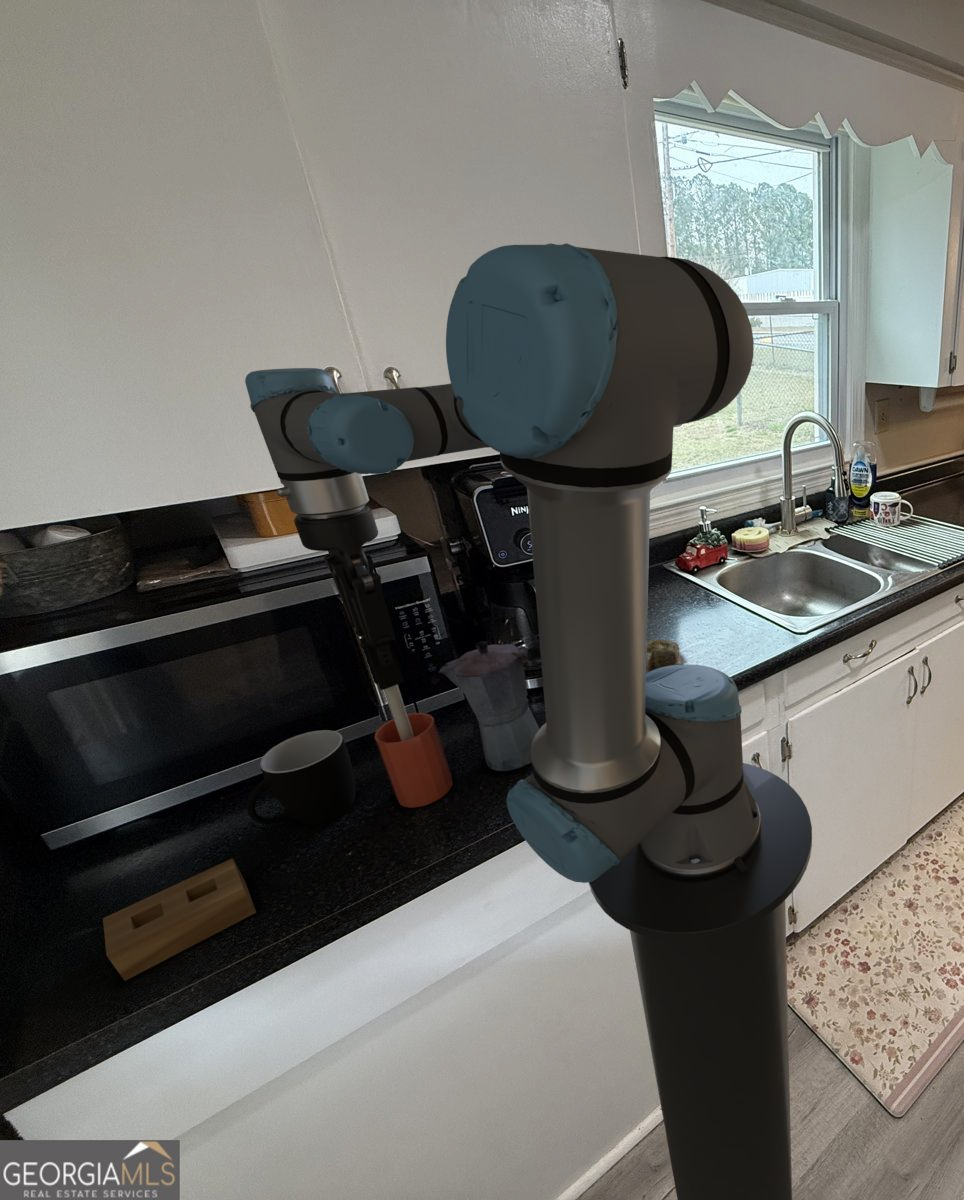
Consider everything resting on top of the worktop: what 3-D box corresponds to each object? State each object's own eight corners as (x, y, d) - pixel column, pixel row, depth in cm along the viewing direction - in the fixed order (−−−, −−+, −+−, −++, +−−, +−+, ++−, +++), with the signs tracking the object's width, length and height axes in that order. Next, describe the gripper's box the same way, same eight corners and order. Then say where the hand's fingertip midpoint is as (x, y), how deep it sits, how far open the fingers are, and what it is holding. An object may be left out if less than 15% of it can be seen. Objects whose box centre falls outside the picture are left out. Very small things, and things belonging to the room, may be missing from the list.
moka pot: (468, 745, 99) (437, 635, 90) (570, 725, 103) (549, 618, 95) (461, 784, 90) (425, 666, 82) (571, 760, 95) (548, 646, 87)
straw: (416, 739, 86) (379, 624, 78) (403, 744, 85) (364, 628, 77) (412, 734, 87) (375, 620, 79) (399, 739, 86) (360, 624, 78)
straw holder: (256, 912, 71) (243, 887, 69) (124, 981, 64) (106, 955, 62) (245, 882, 75) (232, 857, 73) (119, 943, 68) (102, 918, 66)
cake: (624, 664, 123) (620, 639, 121) (670, 649, 128) (667, 626, 126) (644, 681, 115) (640, 655, 113) (692, 665, 120) (689, 640, 119)
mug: (342, 779, 91) (319, 722, 87) (378, 798, 88) (357, 740, 84) (247, 834, 82) (216, 773, 78) (283, 858, 78) (253, 796, 74)
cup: (460, 788, 90) (441, 726, 85) (407, 815, 85) (384, 750, 80) (441, 767, 94) (422, 707, 89) (390, 791, 89) (367, 729, 84)
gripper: (277, 505, 74) (339, 674, 84) (309, 530, 65) (375, 716, 75) (350, 492, 79) (400, 653, 89) (389, 514, 70) (440, 690, 80)
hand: (389, 681), depth 82 cm, fingers closed on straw, 1 cm apart
